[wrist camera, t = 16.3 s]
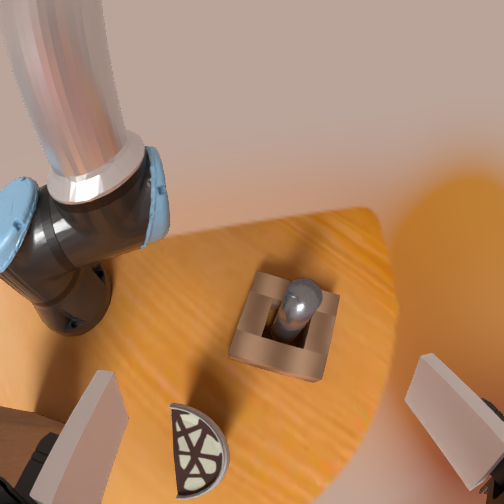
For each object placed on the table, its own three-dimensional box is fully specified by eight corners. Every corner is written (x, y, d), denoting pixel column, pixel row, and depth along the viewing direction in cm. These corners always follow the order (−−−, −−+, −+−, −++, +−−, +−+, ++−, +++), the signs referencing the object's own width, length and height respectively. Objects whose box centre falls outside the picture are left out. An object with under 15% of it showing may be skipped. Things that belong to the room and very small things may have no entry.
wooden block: (33, 411, 30) (-54, 389, 13) (79, 427, 31) (-9, 419, 14) (33, 463, 25) (-51, 462, 8) (81, 483, 25) (-2, 502, 8)
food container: (233, 483, 29) (233, 504, 21) (189, 483, 28) (176, 503, 20) (227, 404, 36) (225, 402, 27) (183, 404, 35) (168, 402, 26)
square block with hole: (228, 358, 39) (227, 352, 36) (255, 282, 46) (257, 270, 43) (313, 382, 38) (321, 379, 34) (331, 305, 45) (339, 295, 41)
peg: (267, 339, 41) (282, 306, 29) (274, 315, 43) (291, 273, 31) (292, 347, 41) (318, 316, 29) (299, 323, 43) (325, 283, 31)
